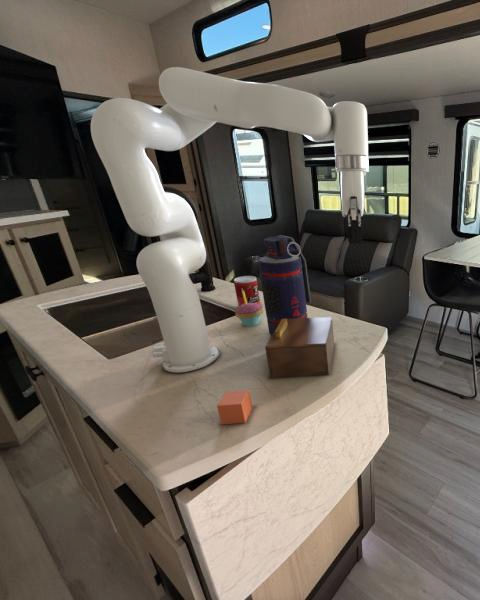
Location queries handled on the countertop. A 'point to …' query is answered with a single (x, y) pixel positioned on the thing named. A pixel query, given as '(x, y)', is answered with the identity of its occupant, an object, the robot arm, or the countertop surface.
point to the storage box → (301, 359)
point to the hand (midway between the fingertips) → (356, 240)
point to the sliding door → (300, 333)
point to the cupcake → (249, 312)
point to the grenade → (284, 281)
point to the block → (235, 407)
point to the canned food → (247, 289)
